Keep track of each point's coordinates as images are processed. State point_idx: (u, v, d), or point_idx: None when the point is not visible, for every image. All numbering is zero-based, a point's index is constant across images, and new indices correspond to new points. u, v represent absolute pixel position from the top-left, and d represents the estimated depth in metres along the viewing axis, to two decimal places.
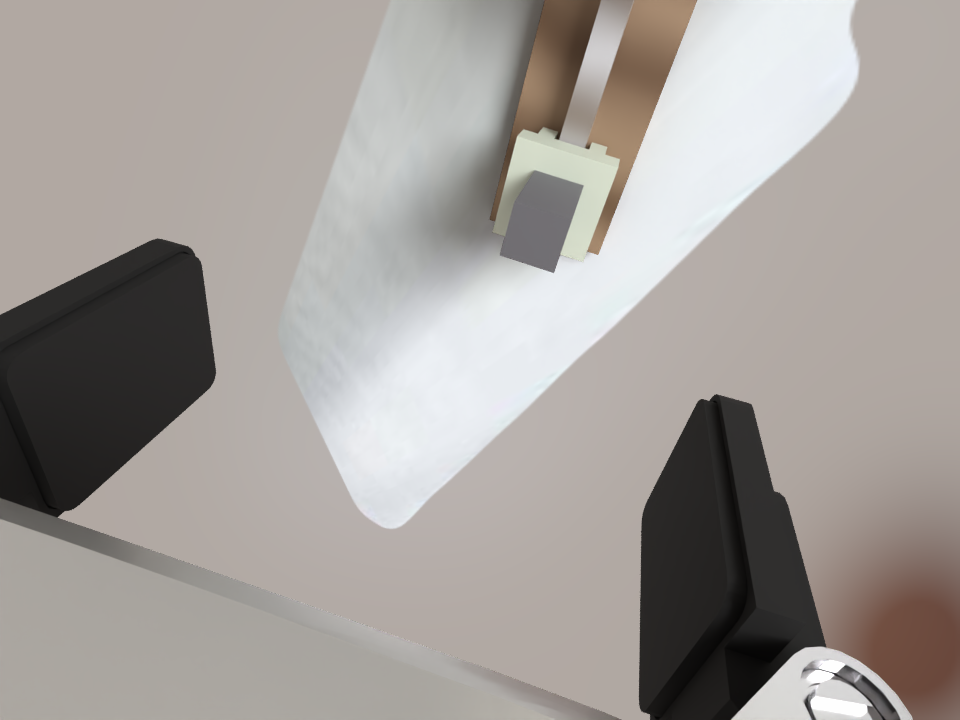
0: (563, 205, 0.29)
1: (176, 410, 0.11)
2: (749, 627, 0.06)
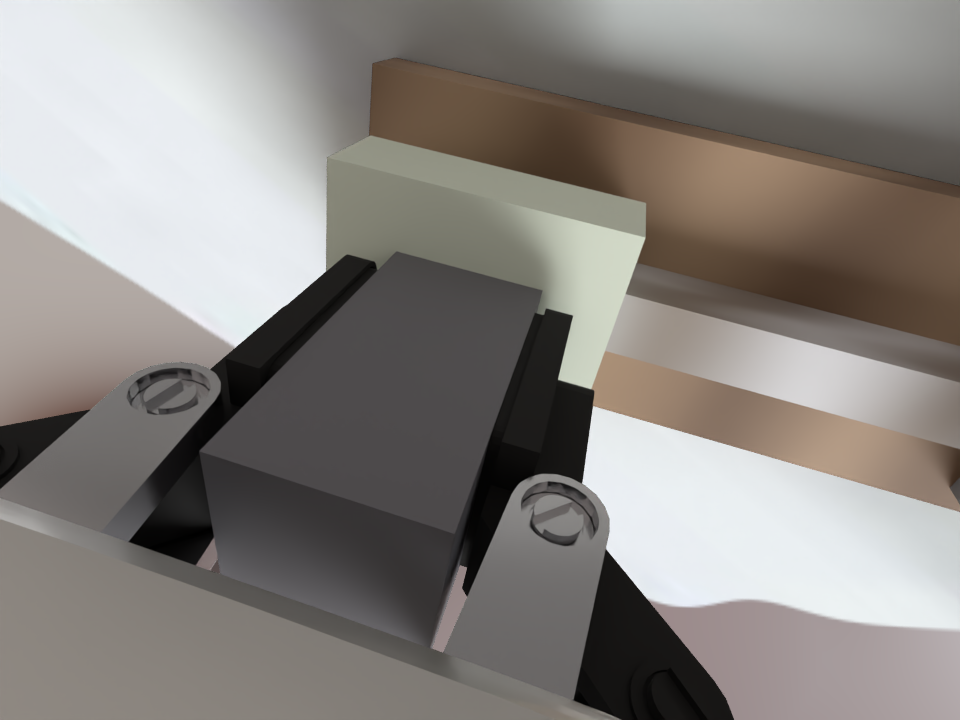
0: (463, 545, 0.09)
1: None
2: (502, 462, 0.07)
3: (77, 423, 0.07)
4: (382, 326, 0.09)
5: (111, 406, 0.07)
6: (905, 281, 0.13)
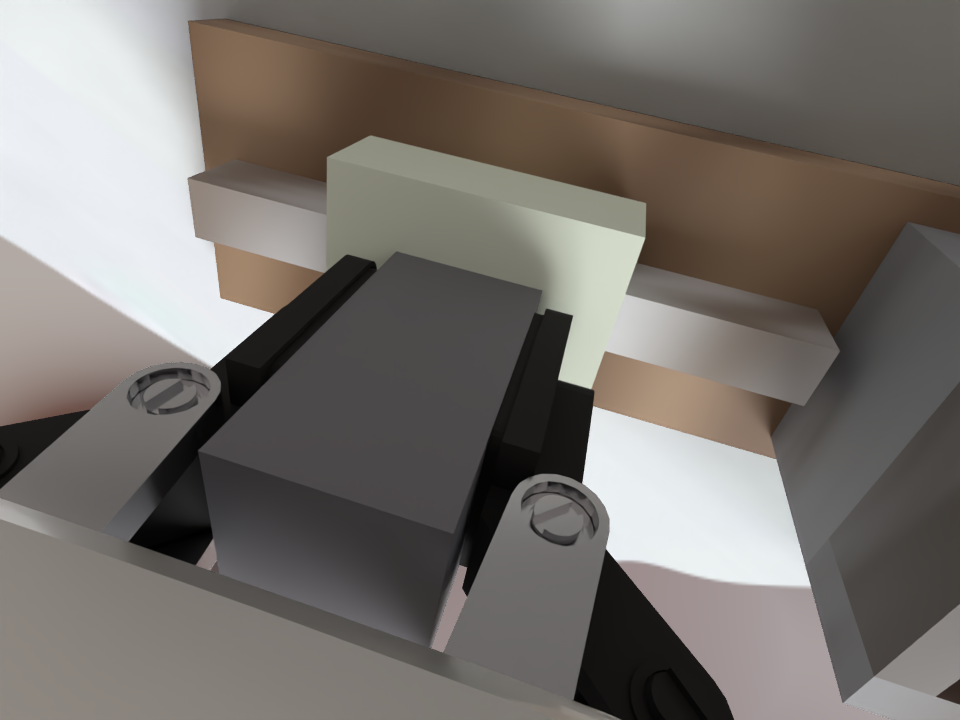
0: None
1: None
2: (502, 462, 0.07)
3: (77, 423, 0.07)
4: (382, 325, 0.09)
5: (111, 406, 0.07)
6: (694, 229, 0.14)
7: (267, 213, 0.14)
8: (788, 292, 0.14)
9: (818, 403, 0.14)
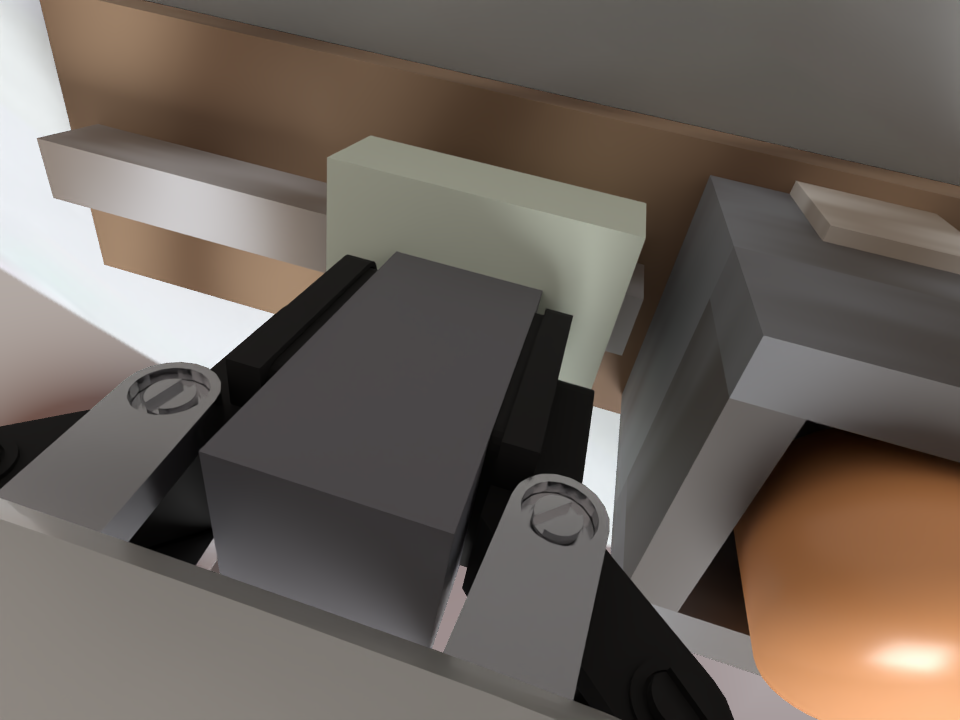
0: None
1: None
2: (502, 462, 0.07)
3: (77, 423, 0.07)
4: (382, 326, 0.09)
5: (111, 406, 0.07)
6: None
7: (113, 172, 0.15)
8: None
9: (646, 355, 0.15)
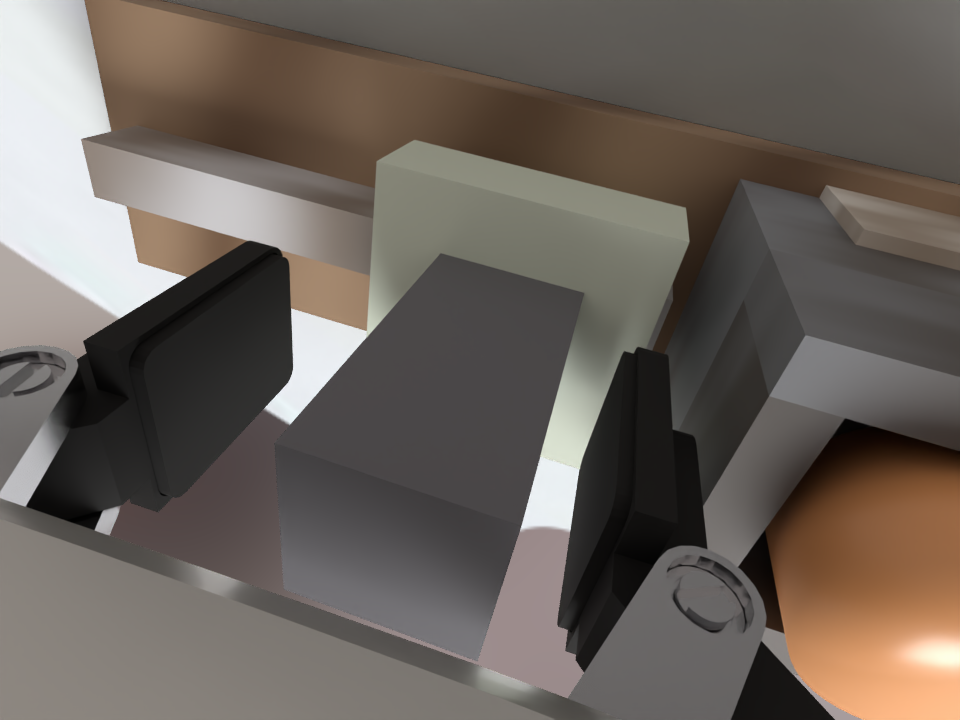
0: None
1: (261, 404, 0.11)
2: (632, 531, 0.07)
3: None
4: (434, 326, 0.09)
5: None
6: None
7: (154, 172, 0.15)
8: None
9: (673, 356, 0.15)
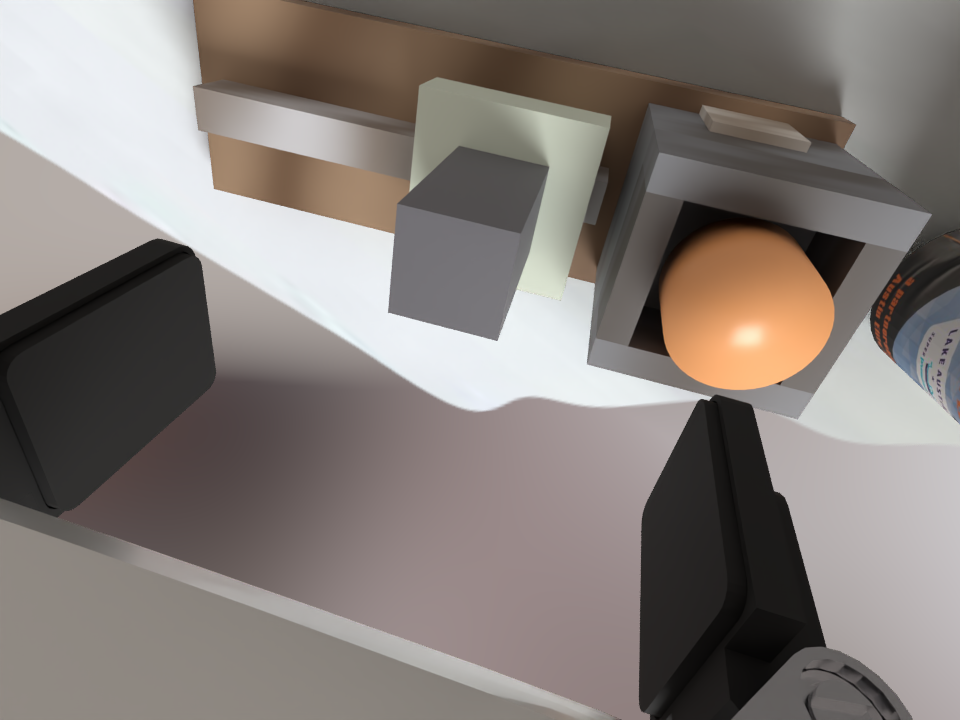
0: (512, 291, 0.16)
1: (176, 410, 0.11)
2: (749, 627, 0.06)
3: None
4: (463, 173, 0.16)
5: None
6: None
7: (247, 109, 0.21)
8: None
9: (611, 229, 0.22)
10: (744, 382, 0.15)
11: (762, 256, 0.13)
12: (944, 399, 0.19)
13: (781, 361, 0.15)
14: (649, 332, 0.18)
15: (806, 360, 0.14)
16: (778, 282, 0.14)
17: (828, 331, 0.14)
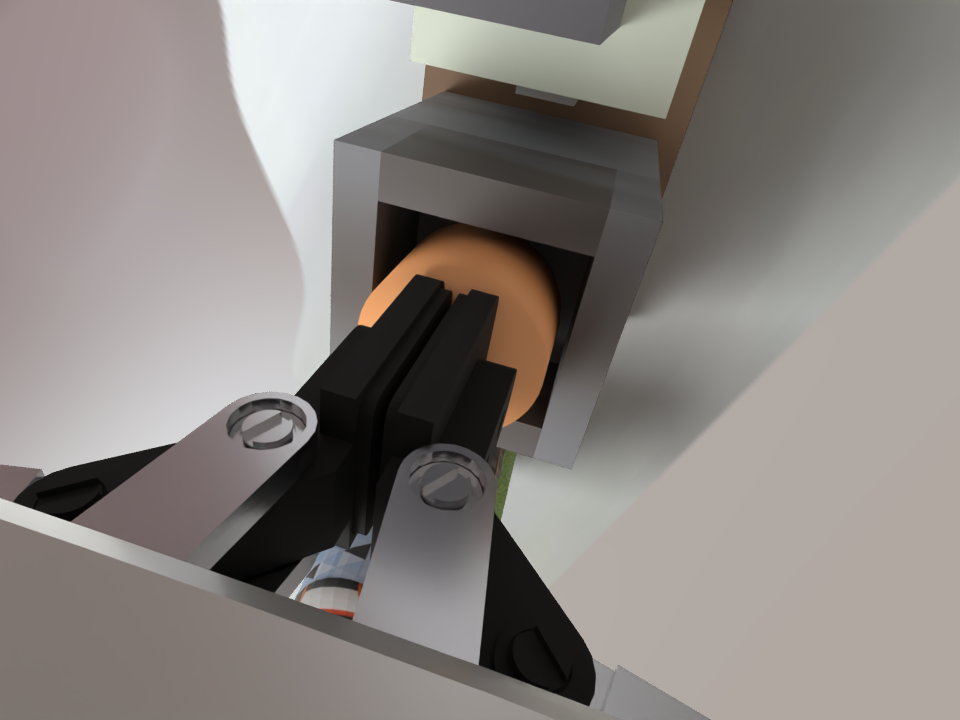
0: None
1: None
2: (400, 432, 0.07)
3: (175, 446, 0.06)
4: None
5: (209, 432, 0.07)
6: None
7: None
8: None
9: (505, 113, 0.16)
10: None
11: (540, 367, 0.11)
12: None
13: None
14: (396, 215, 0.13)
15: None
16: None
17: None
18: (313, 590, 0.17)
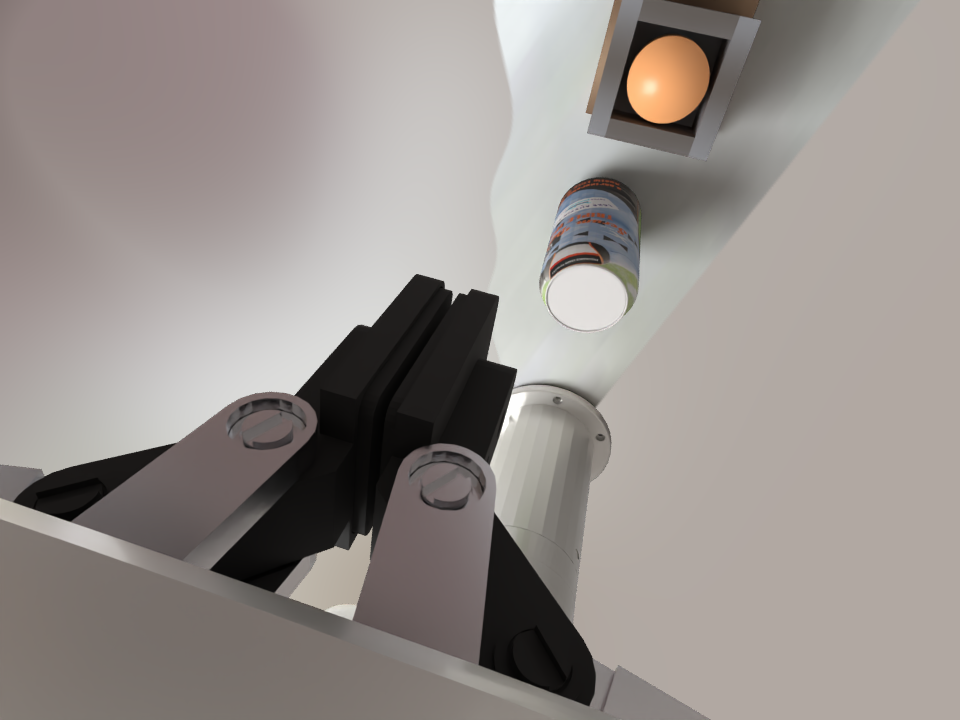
0: None
1: None
2: (400, 432, 0.07)
3: (174, 446, 0.06)
4: None
5: (209, 432, 0.07)
6: None
7: None
8: None
9: (665, 0, 0.32)
10: (631, 89, 0.29)
11: (707, 81, 0.28)
12: (574, 212, 0.36)
13: (645, 104, 0.29)
14: None
15: (645, 116, 0.30)
16: (691, 92, 0.29)
17: (662, 122, 0.30)
18: (561, 250, 0.33)
